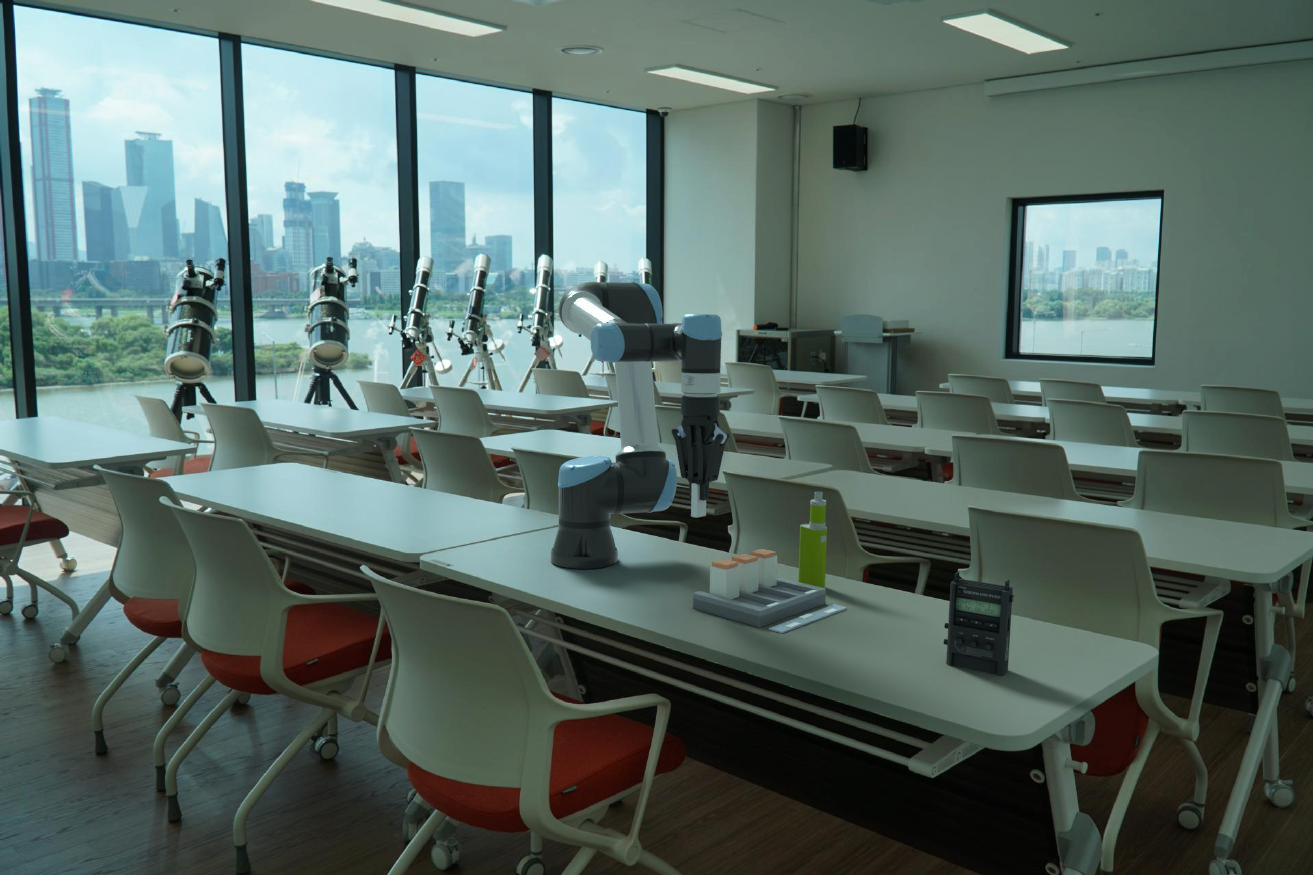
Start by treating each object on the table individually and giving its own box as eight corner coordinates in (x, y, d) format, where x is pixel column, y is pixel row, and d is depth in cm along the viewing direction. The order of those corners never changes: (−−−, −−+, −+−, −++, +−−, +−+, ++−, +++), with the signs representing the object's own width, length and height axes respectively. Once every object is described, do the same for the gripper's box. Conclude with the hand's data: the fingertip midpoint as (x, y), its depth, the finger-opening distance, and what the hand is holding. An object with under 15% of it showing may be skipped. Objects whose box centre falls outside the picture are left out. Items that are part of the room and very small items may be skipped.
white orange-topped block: (748, 584, 200) (749, 551, 199) (760, 580, 203) (761, 548, 202) (764, 588, 197) (765, 555, 196) (776, 584, 200) (777, 551, 199)
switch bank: (692, 608, 191) (693, 592, 190) (760, 587, 206) (760, 572, 206) (759, 627, 180) (760, 609, 180) (825, 603, 195) (825, 587, 195)
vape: (816, 590, 204) (819, 494, 201) (795, 584, 209) (798, 490, 206) (828, 587, 206) (832, 492, 204) (807, 581, 211) (810, 488, 208)
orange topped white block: (709, 596, 191) (710, 562, 190) (722, 592, 194) (723, 558, 193) (725, 600, 188) (726, 565, 187) (739, 596, 191) (739, 562, 190)
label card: (768, 629, 179) (768, 627, 179) (833, 605, 194) (834, 603, 194) (782, 633, 177) (782, 631, 176) (847, 608, 192) (847, 606, 192)
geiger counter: (938, 664, 162) (942, 574, 160) (946, 657, 166) (951, 569, 164) (1003, 678, 156) (1009, 585, 154) (1011, 670, 160) (1017, 579, 158)
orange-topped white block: (729, 590, 195) (730, 556, 194) (742, 586, 198) (743, 553, 197) (745, 594, 193) (746, 560, 192) (758, 590, 195) (759, 556, 195)
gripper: (662, 393, 193) (660, 513, 195) (714, 398, 184) (711, 523, 187) (688, 392, 198) (686, 508, 201) (739, 396, 189) (736, 518, 192)
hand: (698, 515), depth 194 cm, fingers closed
